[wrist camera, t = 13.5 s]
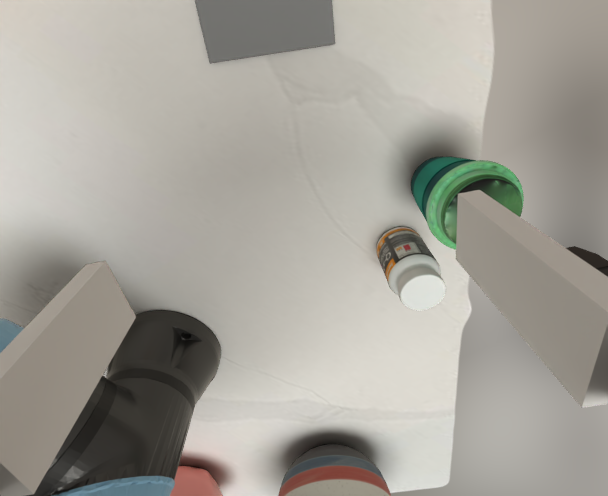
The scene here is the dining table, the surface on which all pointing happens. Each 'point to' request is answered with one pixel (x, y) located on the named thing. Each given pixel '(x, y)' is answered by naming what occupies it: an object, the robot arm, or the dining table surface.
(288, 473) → the planter
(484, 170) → the cup
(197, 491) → the cell model
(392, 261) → the pill bottle
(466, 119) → the dining table surface
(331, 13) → the track
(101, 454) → the robot arm
